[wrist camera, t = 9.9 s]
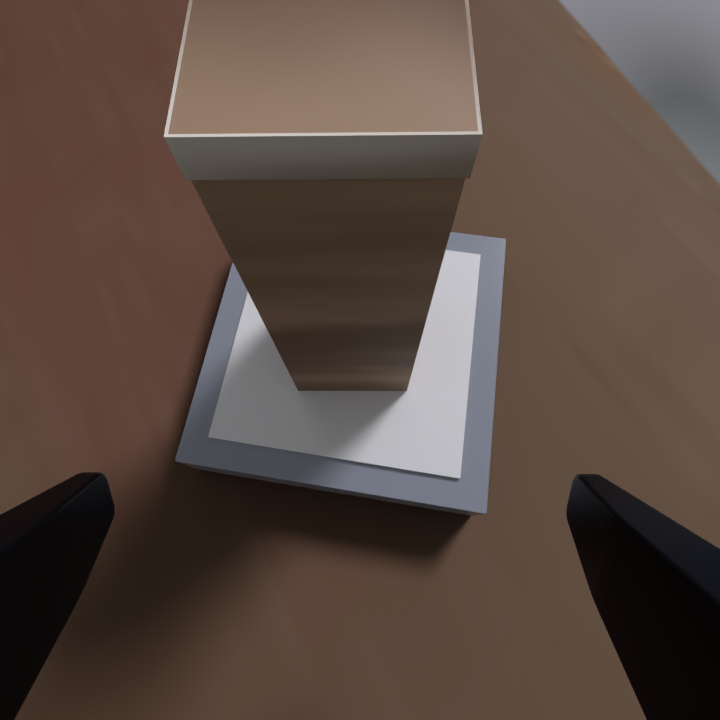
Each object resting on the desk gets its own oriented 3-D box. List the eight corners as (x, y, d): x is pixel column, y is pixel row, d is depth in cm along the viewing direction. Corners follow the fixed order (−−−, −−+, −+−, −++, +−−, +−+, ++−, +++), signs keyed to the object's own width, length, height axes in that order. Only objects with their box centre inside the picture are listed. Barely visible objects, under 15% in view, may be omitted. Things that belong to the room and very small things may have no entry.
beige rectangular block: (408, 392, 17) (482, 134, 6) (296, 392, 17) (163, 137, 6) (405, 292, 19) (461, -70, 7) (301, 292, 19) (201, -65, 8)
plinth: (471, 515, 18) (487, 513, 16) (198, 469, 19) (172, 460, 17) (491, 270, 22) (506, 237, 19) (261, 239, 23) (248, 203, 20)
